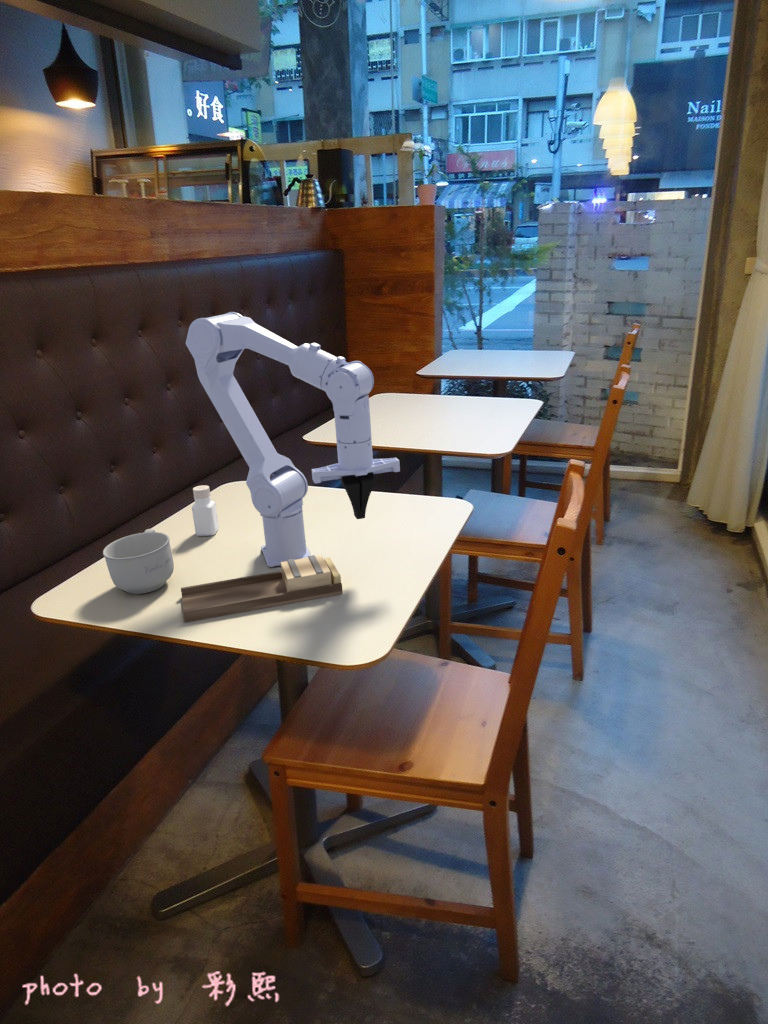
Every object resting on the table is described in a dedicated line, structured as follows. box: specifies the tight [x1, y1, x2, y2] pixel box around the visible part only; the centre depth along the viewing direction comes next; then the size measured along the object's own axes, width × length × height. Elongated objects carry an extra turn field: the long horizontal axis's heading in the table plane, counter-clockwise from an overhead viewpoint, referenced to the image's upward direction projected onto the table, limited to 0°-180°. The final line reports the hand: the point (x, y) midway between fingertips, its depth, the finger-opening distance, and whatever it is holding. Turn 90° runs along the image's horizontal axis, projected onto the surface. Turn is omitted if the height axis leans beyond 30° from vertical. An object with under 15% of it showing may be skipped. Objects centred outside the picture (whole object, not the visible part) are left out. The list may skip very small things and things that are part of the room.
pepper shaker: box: [191, 484, 220, 537], centre depth 148 cm, size 4×4×10 cm
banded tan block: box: [280, 554, 332, 592], centre depth 123 cm, size 7×7×3 cm
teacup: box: [102, 528, 175, 595], centre depth 128 cm, size 14×11×8 cm
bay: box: [180, 557, 344, 623], centre depth 122 cm, size 9×25×3 cm, turn 106°
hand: (359, 516), depth 127 cm, fingers closed
